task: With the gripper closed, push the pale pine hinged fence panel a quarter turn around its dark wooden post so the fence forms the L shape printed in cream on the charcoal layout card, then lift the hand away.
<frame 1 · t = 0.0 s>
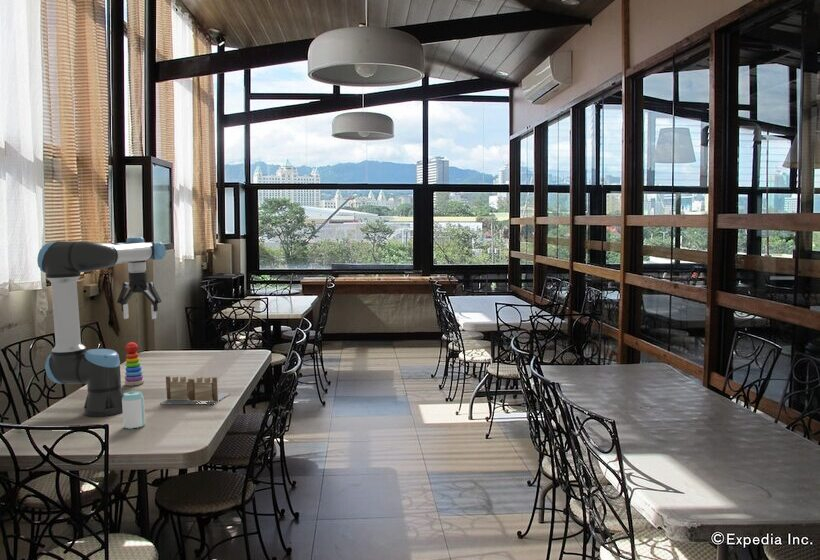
hand: (140, 318, 303), 28 cm above the table, tool pointing down, fingers open, 13 cm apart
stacking toy: (134, 384, 297), on the table
fixed fence section: (192, 401, 266), resting on layout card
hinged fence panel: (177, 387, 267), point 5 cm above the table, hinge at 0.0°
can: (134, 427, 235), on the table
layout card: (196, 399, 269), on the table
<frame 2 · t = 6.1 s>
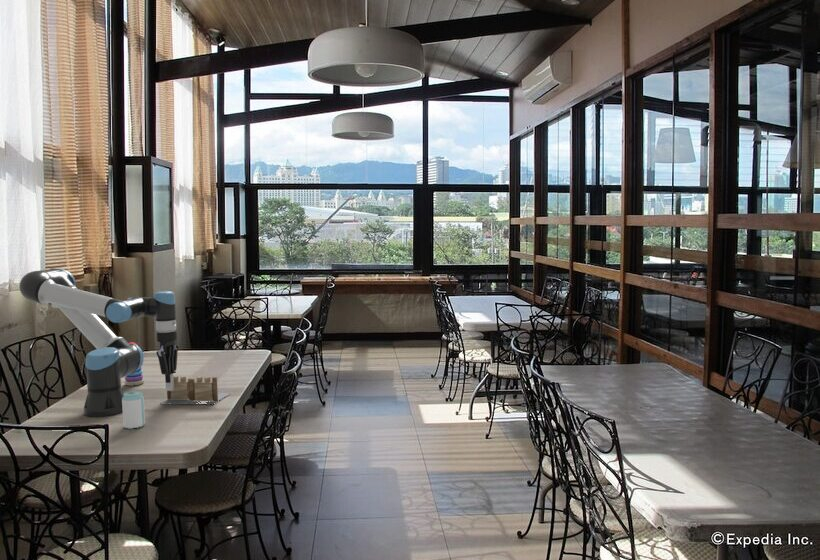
hand: (170, 390, 265), 5 cm above the table, tool pointing down, fingers closed
hinged fence panel: (177, 387, 267), point 5 cm above the table, hinge at -1.6°, touching gripper
everything else where it was.
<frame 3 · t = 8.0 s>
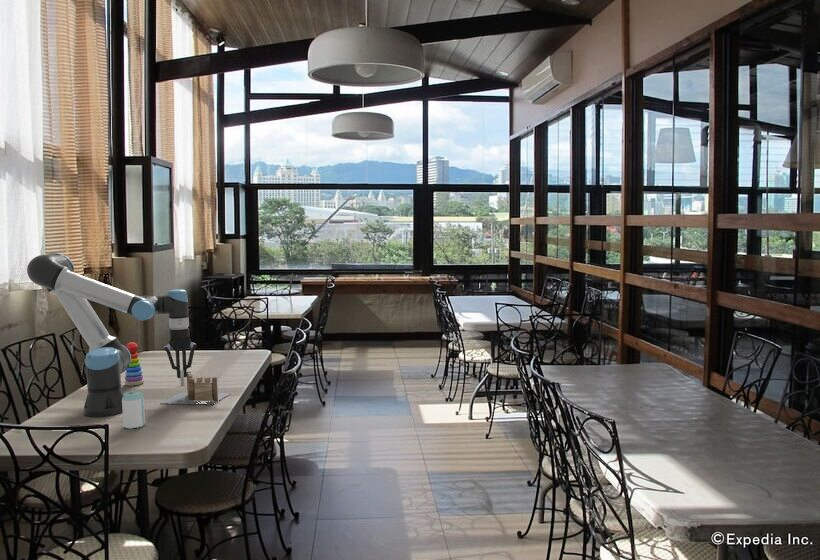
hand: (182, 385, 272), 5 cm above the table, tool pointing down, fingers closed
hinged fence panel: (190, 384, 272), point 5 cm above the table, hinge at -57.8°, touching gripper
everything else where it was.
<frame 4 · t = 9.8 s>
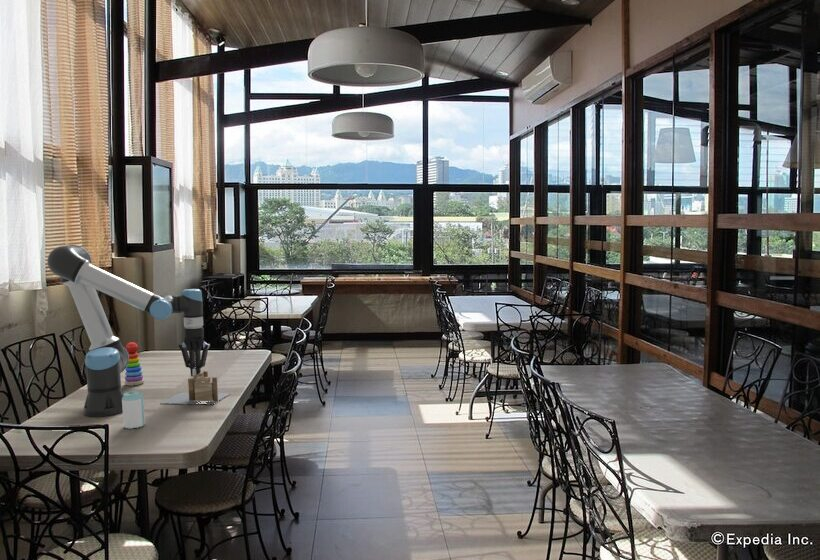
hand: (196, 384, 274), 5 cm above the table, tool pointing down, fingers closed
hinged fence panel: (200, 384, 272), point 5 cm above the table, hinge at -97.8°, touching gripper
everything else where it was.
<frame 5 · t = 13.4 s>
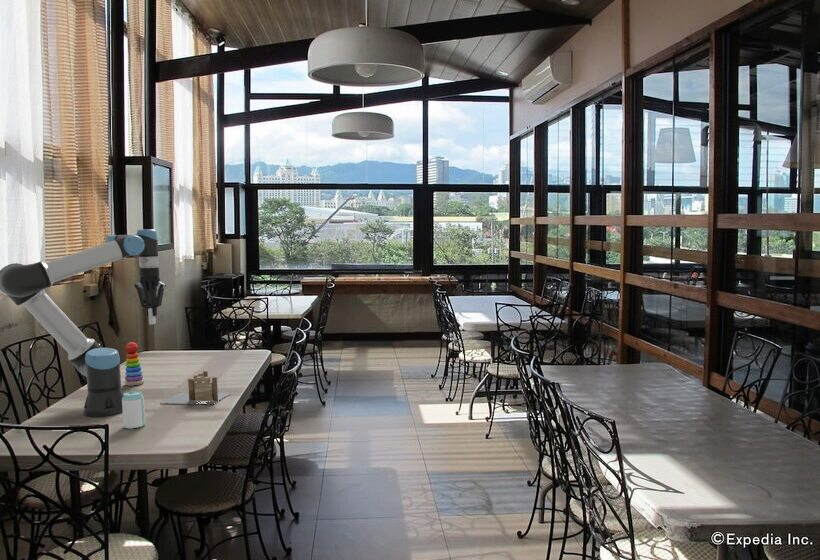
hand: (152, 323, 277), 29 cm above the table, tool pointing down, fingers closed
hinged fence panel: (200, 384, 272), point 5 cm above the table, hinge at -97.6°
everything else where it was.
at the end: hinged fence panel at -98° (first picture: +0°) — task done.
